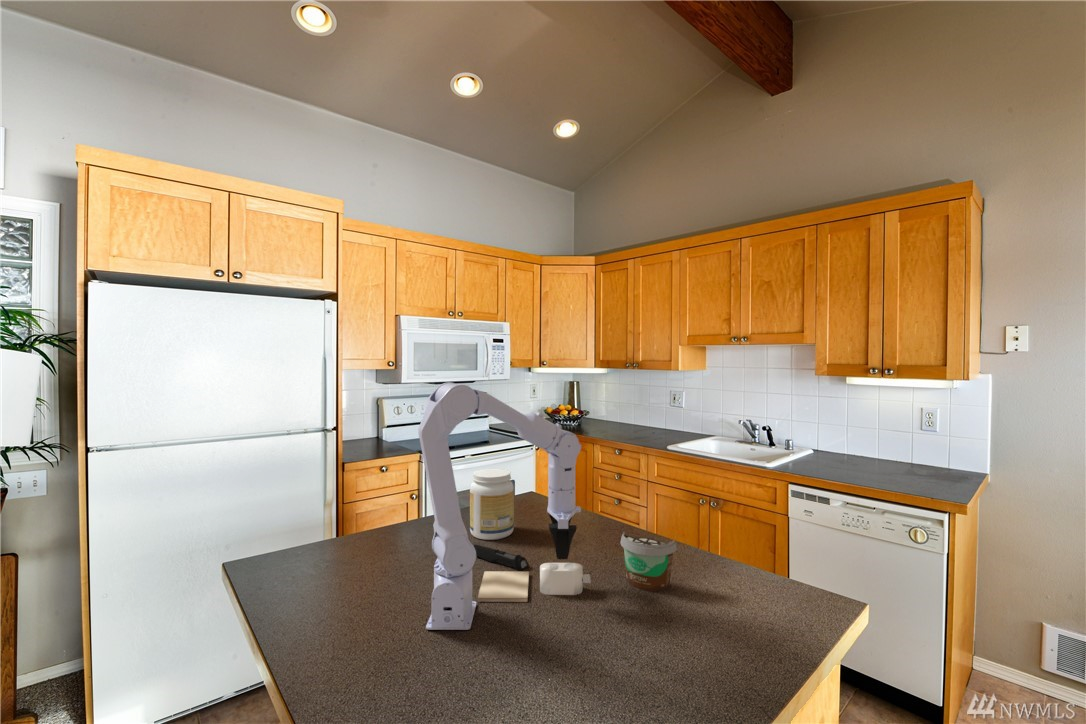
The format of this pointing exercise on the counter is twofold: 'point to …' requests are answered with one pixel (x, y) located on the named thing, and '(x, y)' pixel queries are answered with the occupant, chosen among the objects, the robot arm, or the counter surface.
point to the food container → (648, 562)
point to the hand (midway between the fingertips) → (561, 551)
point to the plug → (562, 578)
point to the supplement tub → (491, 504)
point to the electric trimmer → (502, 557)
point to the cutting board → (504, 586)
